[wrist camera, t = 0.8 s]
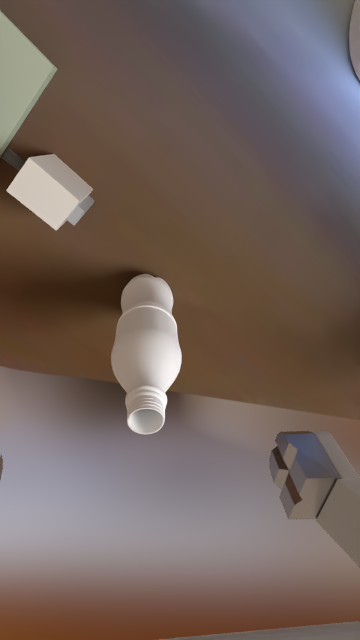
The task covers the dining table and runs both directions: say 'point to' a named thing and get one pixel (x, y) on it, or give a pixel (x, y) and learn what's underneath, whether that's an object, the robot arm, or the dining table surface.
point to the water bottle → (146, 351)
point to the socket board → (19, 78)
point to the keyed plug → (49, 188)
